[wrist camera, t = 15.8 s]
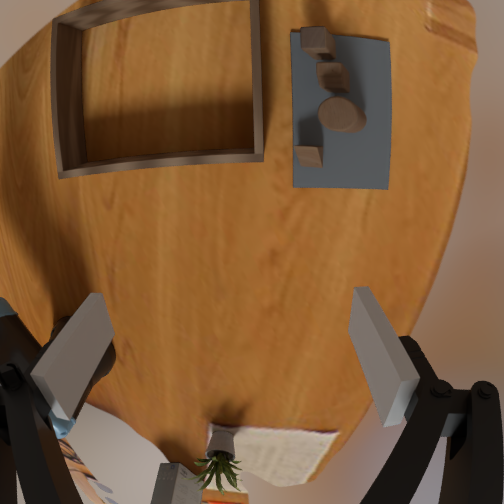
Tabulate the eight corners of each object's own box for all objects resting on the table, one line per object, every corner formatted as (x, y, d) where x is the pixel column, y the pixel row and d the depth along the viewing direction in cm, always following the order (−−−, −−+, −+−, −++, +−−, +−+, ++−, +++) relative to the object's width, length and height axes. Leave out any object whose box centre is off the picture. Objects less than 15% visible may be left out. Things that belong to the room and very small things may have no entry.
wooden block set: (303, 43, 37) (276, 21, 28) (365, 43, 33) (354, 17, 25) (304, 165, 43) (278, 173, 35) (365, 170, 40) (355, 180, 31)
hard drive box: (159, 462, 78) (146, 515, 60) (179, 461, 77) (168, 517, 59) (185, 482, 84) (176, 531, 66) (205, 481, 82) (198, 532, 64)
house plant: (189, 444, 72) (178, 495, 57) (189, 417, 66) (177, 474, 51) (242, 452, 72) (238, 504, 57) (250, 426, 66) (246, 485, 51)
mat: (293, 186, 44) (293, 187, 43) (290, 33, 35) (290, 32, 34) (386, 188, 43) (388, 189, 43) (387, 42, 34) (389, 42, 34)
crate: (83, 169, 43) (58, 179, 37) (77, 27, 34) (52, 19, 27) (263, 155, 42) (263, 162, 36) (258, -6, 32) (257, -26, 26)
